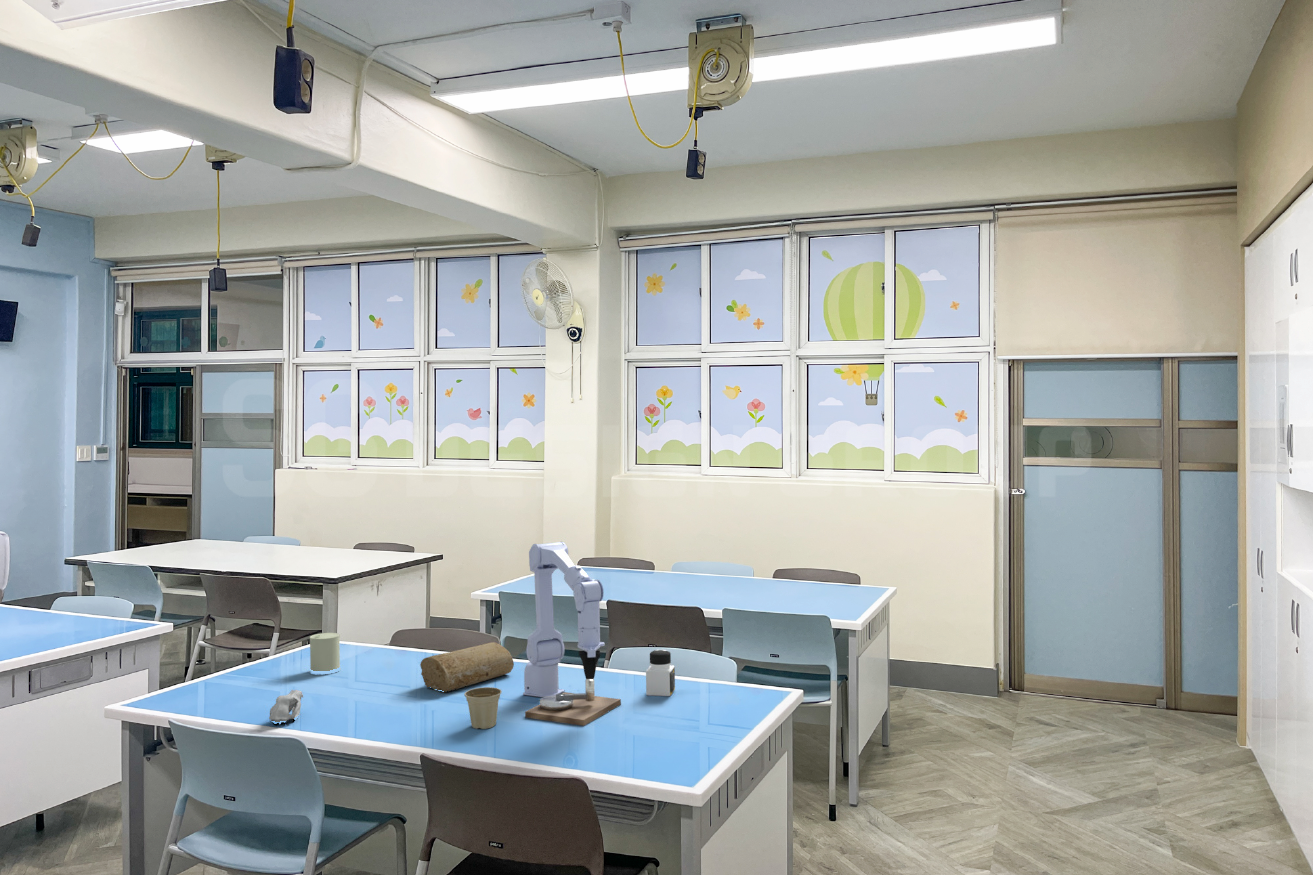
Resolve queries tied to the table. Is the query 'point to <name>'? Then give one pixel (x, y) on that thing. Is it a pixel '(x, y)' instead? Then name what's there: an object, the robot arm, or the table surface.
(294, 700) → the skull
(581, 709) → the stand board
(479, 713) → the flower pot
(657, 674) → the medicine bottle
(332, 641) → the can
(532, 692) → the robot arm
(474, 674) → the core sample
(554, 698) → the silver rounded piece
